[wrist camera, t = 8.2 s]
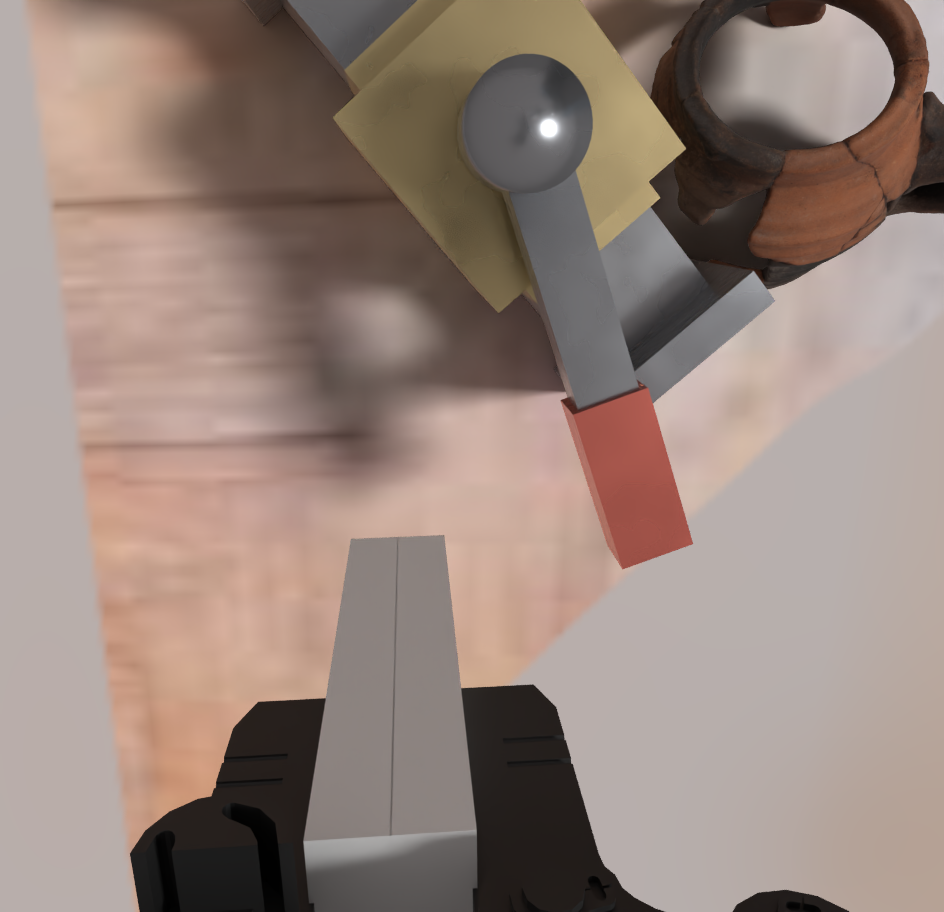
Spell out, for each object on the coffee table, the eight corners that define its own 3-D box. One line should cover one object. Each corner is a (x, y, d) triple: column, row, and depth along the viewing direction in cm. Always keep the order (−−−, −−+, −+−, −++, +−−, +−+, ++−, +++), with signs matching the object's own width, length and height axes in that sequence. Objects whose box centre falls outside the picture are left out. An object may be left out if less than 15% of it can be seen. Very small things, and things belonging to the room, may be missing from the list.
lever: (439, 92, 22) (445, 80, 20) (552, 51, 22) (570, 33, 20) (590, 547, 27) (609, 579, 24) (685, 512, 27) (712, 541, 24)
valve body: (387, -154, 27) (386, -271, 20) (708, 276, 32) (792, 296, 25) (230, 1, 28) (180, -62, 21) (566, 396, 33) (612, 446, 26)
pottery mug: (621, 303, 32) (635, 198, 24) (642, 84, 34) (660, -81, 26) (953, 325, 31) (1085, 220, 23) (957, 93, 32) (1081, -81, 24)
